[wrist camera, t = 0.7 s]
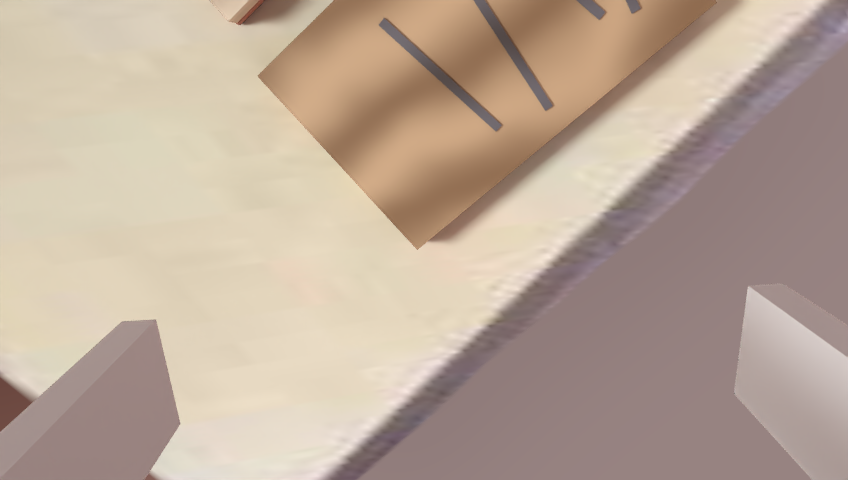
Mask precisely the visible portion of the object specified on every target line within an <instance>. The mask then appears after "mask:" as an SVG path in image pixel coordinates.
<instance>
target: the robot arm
mask: <svg viewBox="0 0 848 480" xmlns="http://www.w3.org/2000/svg"><path fill="white" fill-rule="evenodd" d="M734 394H735V395H736V396H737V398H738V399H739V400H740V401H741V402H742V403H743V404H744V405H745V406H746V407H747V408H748V410H749V411H750V412H751V413H752V414H753V415H754V416H755V417H756V418H757V420H758V421H759V422H760V423H761V424H762V425H763V426H764V427H765V428H766V429H767V431H768V432H769V433H770V434H771V435H772V436H773V437H774V438H775V439H776V440H777V441H778V442H779V444H780V445H781V446H782V447H783V448H784V449H785V450H786V451H787V453H789V455H790V456H791V457H792V458H793V459H794V460H795V461H796V462H797V464H798V465H799V466H800V467H801V468H802V469H803V470H804V471H805V472H806V473H807V475H808V476H809V477H810V478H811V479H812V480H848V325H846V324H845V323H843V322H842V321H840V320H839V319H837V318H836V317H834V316H833V315H831V314H829V313H828V312H826V311H825V310H823V309H822V308H820V307H818V306H817V305H815V304H814V303H812V302H811V301H809V300H808V299H806V298H805V297H803V296H802V295H800V294H798V293H797V292H795V291H794V290H792V289H791V288H789V287H788V286H786V285H785V284H769V285H753V286H748V291H747V298H746V306H745V314H744V321H743V329H742V336H741V344H740V351H739V359H738V367H737V374H736V381H735V389H734ZM179 425H180V420H179V416H178V412H177V408H176V403H175V399H174V395H173V390H172V386H171V382H170V378H169V373H168V369H167V365H166V361H165V356H164V352H163V348H162V343H161V339H160V335H159V331H158V326H157V322H156V320H140V321H123V322H121V323H120V324H119V325H118V326H116V327H115V328H114V329H113V330H112V331H111V332H110V333H109V334H108V335H107V336H105V337H104V338H103V339H102V340H101V341H100V342H99V343H98V344H97V345H96V346H94V347H93V348H92V349H91V350H90V351H89V352H88V353H87V354H86V355H85V356H83V357H82V358H81V359H80V360H79V361H78V362H77V363H76V364H75V365H74V366H72V367H71V368H70V369H69V370H68V371H67V372H66V373H65V374H64V375H63V376H61V377H60V378H59V379H58V380H57V381H56V382H55V383H54V384H53V385H52V386H50V387H49V388H48V389H47V390H46V391H45V392H44V393H43V394H42V395H41V396H39V397H38V398H37V399H36V400H35V401H34V402H33V403H32V404H31V405H30V406H28V407H27V408H26V409H25V410H24V411H23V412H22V413H21V414H20V415H19V416H17V417H16V418H15V419H14V420H13V421H12V422H11V423H10V424H9V425H8V426H6V427H5V428H4V429H3V430H2V431H1V432H0V480H144V479H145V478H146V476H147V474H148V473H149V472H150V470H151V469H152V467H153V465H154V464H155V462H156V461H157V459H158V458H159V456H160V455H161V453H162V451H163V450H164V448H165V447H166V445H167V444H168V442H169V441H170V439H171V437H172V436H173V434H174V433H175V431H176V430H177V428H178V427H179Z"/></svg>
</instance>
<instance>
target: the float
mask: <svg viewBox="0 0 848 480" xmlns="http://www.w3.org/2000/svg"><path fill="white" fill-rule="evenodd" d="M209 1H210V2H211V3H212V4H213V5H214V6H215V7H216V8H217V10H218V11H219V12H220V13H221V14H222V15H223V16H224V17H225V18H226V19H227V21H229V22H234V23H236V24H238V25H241V24H242V23H243V22H244V21H245V20H246V19H247V18H248V17H249V16H250V15H251V14H252V13H253V12H254V11H255V10H256V9H257V8H258V7H259V6H260V5H261V4H262V2H263V1H264V0H209Z"/></svg>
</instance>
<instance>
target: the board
mask: <svg viewBox="0 0 848 480" xmlns="http://www.w3.org/2000/svg"><path fill="white" fill-rule="evenodd" d="M716 3H717V2H716V0H334V1H333V2H332V3H331V4H330V5H329V6H328V7H327V8H326V9H325V10H324V11H323V12H322V13H321V14H320V15H319V16H318V17H317V18H316V19H315V20H314V21H313V22H312V23H311V24H310V25H309V26H308V27H307V28H306V29H305V30H304V31H303V32H301V33H300V34H299V35H298V36H297V37H296V38H295V39H294V40H293V41H292V42H291V43H290V44H289V45H288V46H287V47H286V48H285V49H284V50H283V51H282V52H281V53H280V54H279V55H278V56H277V57H276V58H275V59H274V60H273V61H272V62H271V63H270V64H269V65H268V66H267V67H266V68H265V69H264V70H263V71H262V72H261V73H260V74H259V75H258V77H259V78H260V79H261V80H262V82H263V83H264V84H265V85H266V86H267V87H268V88H269V89H270V90H271V91H272V92H273V94H274V95H275V96H276V97H277V98H278V99H279V100H280V101H281V102H282V103H283V104H284V105H285V107H286V108H287V109H288V110H289V111H290V112H291V113H292V114H293V115H294V116H295V117H296V118H297V120H298V121H299V122H300V123H301V124H302V125H303V126H304V127H305V128H306V129H307V130H308V132H309V133H310V134H311V135H312V136H313V137H314V138H315V139H316V140H317V141H318V142H319V143H320V145H321V146H322V147H323V148H324V149H325V150H326V151H327V152H328V153H329V154H330V155H331V157H332V158H333V159H334V160H335V161H336V162H337V163H338V164H339V165H340V166H341V167H342V168H343V170H344V171H345V172H346V173H347V174H348V175H349V176H350V177H351V178H352V179H353V180H354V181H355V183H356V184H357V185H358V186H359V187H360V188H361V189H362V190H363V191H364V192H365V193H366V195H367V196H368V197H369V198H370V199H371V200H372V201H373V202H374V203H375V204H376V205H377V206H378V208H379V209H380V210H381V211H382V212H383V213H384V214H385V215H386V216H387V217H388V218H389V220H390V221H391V222H392V223H393V224H394V225H395V226H396V227H397V228H398V229H399V230H400V231H401V233H402V234H403V235H404V236H405V237H406V238H407V239H408V240H409V241H410V242H411V243H412V244H413V246H414V247H415V248H416V249H417V250H418V249H419V248H420V247H421V246H423V245H424V244H425V243H426V242H427V241H429V240H430V239H431V238H432V237H433V236H435V235H436V234H437V233H438V232H440V231H441V230H442V229H443V228H444V227H446V226H447V225H448V224H449V223H450V222H452V221H453V220H454V219H455V218H456V217H458V216H459V215H460V214H461V213H463V212H464V211H465V210H466V209H467V208H469V207H470V206H471V205H472V204H473V203H475V202H476V201H477V200H478V199H479V198H481V197H482V196H483V195H484V194H486V193H487V192H488V191H489V190H490V189H492V188H493V187H494V186H495V185H496V184H498V183H499V182H500V181H501V180H502V179H504V178H505V177H506V176H507V175H509V174H510V173H511V172H512V171H513V170H515V169H516V168H517V167H518V166H519V165H521V164H522V163H523V162H524V161H525V160H527V159H528V158H529V157H530V156H532V155H533V154H534V153H535V152H536V151H538V150H539V149H540V148H541V147H542V146H544V145H545V144H546V143H547V142H548V141H550V140H551V139H552V138H553V137H555V136H556V135H557V134H558V133H559V132H561V131H562V130H563V129H564V128H565V127H567V126H568V125H569V124H570V123H571V122H573V121H574V120H575V119H576V118H578V117H579V116H580V115H581V114H582V113H584V112H585V111H586V110H587V109H588V108H590V107H591V106H592V105H593V104H594V103H596V102H597V101H598V100H599V99H601V98H602V97H603V96H604V95H605V94H607V93H608V92H609V91H610V90H611V89H613V88H614V87H615V86H616V85H617V84H619V83H620V82H621V81H622V80H624V79H625V78H626V77H627V76H628V75H630V74H631V73H632V72H633V71H634V70H636V69H637V68H638V67H639V66H640V65H642V64H643V63H644V62H645V61H647V60H648V59H649V58H650V57H651V56H653V55H654V54H655V53H656V52H657V51H659V50H660V49H661V48H662V47H663V46H665V45H666V44H667V43H668V42H670V41H671V40H672V39H673V38H674V37H676V36H677V35H678V34H679V33H680V32H682V31H683V30H684V29H685V28H686V27H688V26H689V25H690V24H691V23H693V22H694V21H695V20H696V19H697V18H699V17H700V16H701V15H702V14H703V13H705V12H706V11H707V10H708V9H709V8H711V7H712V6H713V5H714V4H716Z"/></svg>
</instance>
